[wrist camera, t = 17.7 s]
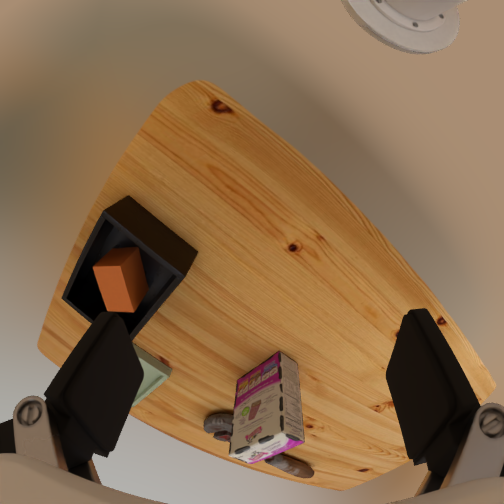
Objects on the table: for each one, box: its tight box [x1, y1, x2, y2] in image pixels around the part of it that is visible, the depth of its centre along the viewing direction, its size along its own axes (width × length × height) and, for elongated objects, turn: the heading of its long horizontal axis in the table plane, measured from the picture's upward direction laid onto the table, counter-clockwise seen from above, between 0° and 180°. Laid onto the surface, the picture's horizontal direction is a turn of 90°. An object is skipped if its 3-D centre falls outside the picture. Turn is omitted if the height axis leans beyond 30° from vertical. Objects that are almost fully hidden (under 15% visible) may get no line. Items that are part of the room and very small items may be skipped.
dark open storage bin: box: [62, 196, 198, 341], centre depth 39 cm, size 18×13×7 cm
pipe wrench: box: [204, 414, 314, 478], centre depth 58 cm, size 40×12×5 cm, turn 44°
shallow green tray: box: [132, 343, 172, 407], centre depth 51 cm, size 18×12×2 cm, turn 139°
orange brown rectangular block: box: [93, 247, 149, 312], centre depth 38 cm, size 7×4×6 cm, turn 4°
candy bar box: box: [229, 351, 305, 464], centre depth 42 cm, size 11×5×16 cm, turn 138°
